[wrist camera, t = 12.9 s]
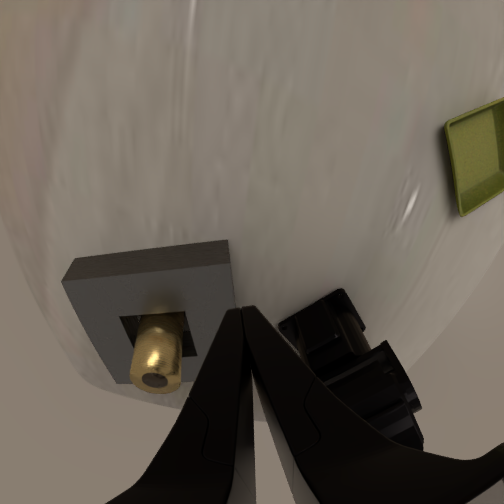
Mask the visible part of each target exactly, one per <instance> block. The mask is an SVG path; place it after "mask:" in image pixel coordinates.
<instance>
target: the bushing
mask: <svg viewBox="0 0 504 504" xmlns="http://www.w3.org/2000/svg"><path fill="white" fill-rule="evenodd" d="M183 326H184V311H179V312H168V313H156V314H144V315H141V319H140V323H139V328H138V333H137V338H136V343H135V348H134V353H133V358H132V364H131V369H130V380H131V381H132V383H133V384H134V385H135V386H136V387H138V388H140V389H142V390H144V391H146V392H150V393H155V394H166V393H171V392H173V391H175V390H177V389H178V388H179V387H180V384H181V363H182V343H183Z"/></svg>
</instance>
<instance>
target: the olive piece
mask: <svg viewBox="0 0 504 504" xmlns="http://www.w3.org/2000/svg"><path fill="white" fill-rule="evenodd" d="M444 130H445V135H446V139H447V144H448V150H449V155H450V161H451V167H452V173H453V180H454V188H455V196H456V203H457V208H458V211H459V215H460V217H463V216H466V215H467V214H469V213H470V212H472V211H474V210H475V209H477V208H478V207H480V206H481V205H483V204H485V203H486V202H488V201H489V200H491V199H492V198H494V197H495V196H497V195H498V194H500V193H502V192H503V191H504V97H503V98H501V99H498V100H496V101H494V102H491V103H489V104H486V105H484V106H482V107H479V108H477V109H474V110H472V111H470V112H467V113H465V114H463V115H460V116H458V117H455V118H453V119H451V120H449V121H447V122H446V123H445V125H444Z"/></svg>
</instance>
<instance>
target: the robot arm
mask: <svg viewBox="0 0 504 504" xmlns="http://www.w3.org/2000/svg"><path fill="white" fill-rule="evenodd" d="M339 294H341V295H339ZM284 326H285V327H284ZM278 328H279V331H280V332H281V333H282V334H283V335H284V336H285V337H286V338H287V339H288V340H289V341H290V342H291V343H292V344H293V345H294V347H295V348H296V349H297V350H298V351H299V354H300V357H301V358H300V357H299V356H298V355H297V353H296V352H295V351H294V350H293V349H292V348H291V347H290V345H289V344H288V343H287V342H286V341H285V340H284V339H283V337H282V336H281V335H280V334H279V333H278V332H277V331H276V329H275V328H274V327H273V326H272V325H271V324H270V322H269V321H268V320H267V319H266V318H265V317H264V316H263V314H262V313H261V312H260V311H259V310H258V309H257V307H256V306H254V305H251V306H245V307H242V308H241V309H240V308H233V309H228V310H227V311H226V312H225V315H224V317H223V319H222V321H221V324H220V326H219V328H218V330H217V332H216V335H215V337H214V339H213V341H212V344H211V346H210V348H209V350H208V353H207V355H206V357H205V359H204V362H203V364H202V366H201V368H200V370H199V373H198V375H197V377H196V379H195V382H194V384H193V386H192V388H191V391H190V393H189V397H187V399H186V402H185V404H184V406H183V408H182V410H181V412H180V414H179V416H178V418H177V420H176V423H175V424H174V426H173V428H172V429H171V431H170V433H169V434H168V436H167V438H166V440H165V441H164V443H163V444H162V446H161V447H160V449H159V450H158V452H157V454H156V455H155V457H154V458H153V460H152V461H151V463H150V465H149V466H148V468H147V469H146V471H145V472H144V474H143V475H142V476H141V478H140V479H139V480H138V481H137V482H136V483H135V484H134V485H133V486H131V487H130V488H129V489H128V490H126V491H124V492H123V493H121V494H120V495H118V496H117V497H115V498H113V499H112V500H110V501H109V502H107V503H106V504H256V487H255V455H254V454H255V452H254V419H253V386H252V375H253V379H254V382H255V385H256V389H257V392H258V395H259V398H260V401H261V404H262V407H263V410H264V413H265V416H266V419H267V422H268V425H269V428H270V432H271V434H272V437H273V440H274V443H275V446H276V449H277V452H278V455H279V458H280V461H281V464H282V467H283V469H284V472H285V475H286V478H287V481H288V484H289V486H290V489H291V492H292V494H293V498H294V500H295V503H296V504H504V443H501V444H500V445H498V446H497V447H495V448H494V449H492V450H491V451H489V452H488V453H486V454H485V455H483V456H482V457H480V458H476V459H472V460H459V459H454V458H449V457H444V456H440V455H436V454H432V453H428V452H424V451H423V443H424V438H423V435H422V433H421V431H420V428H419V426H418V424H417V421H416V419H415V417H414V415H413V413H416V412H418V411H419V410H421V409H422V406H421V404H420V401H419V399H418V396H417V394H416V392H415V390H414V387H413V386H412V383H411V381H410V380H409V378H408V376H407V374H406V372H405V370H404V368H403V367H402V365H401V363H400V362H399V360H398V358H397V357H396V355H395V353H394V352H393V350H392V348H391V347H390V345H389V343H388V342H387V340H385V341H383V342H382V343H380V345H379V346H377V347H375V348H373V349H372V350H371V348H370V346H369V344H368V342H367V340H366V338H365V336H364V334H363V331H364V330H365V329H366V327H365V325H364V323H363V321H362V320H361V318H360V316H359V314H358V313H357V311H356V309H355V307H354V306H353V304H352V302H351V300H350V299H349V297H348V295H347V293H346V292H345V290H344V289H342V288H340V289H337V290H335V291H334V292H332V293H330V294H329V295H327V296H325V297H324V298H322V299H320V300H319V301H317V302H315V303H313V304H312V305H310V306H308V307H307V308H305V309H303V310H301V311H300V312H298V313H296V314H294V315H293V316H291V317H289V318H287V319H285V320H284V321H282V322H280V323H279V324H278ZM251 370H252V372H251Z"/></svg>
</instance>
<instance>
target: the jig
mask: <svg viewBox="0 0 504 504" xmlns="http://www.w3.org/2000/svg"><path fill="white" fill-rule="evenodd" d="M61 283H62V285H63V287H64V289H65V291H66V293H67V296H68V298H69V300H70V302H71V304H72V306H73V308H74V310H75V312H76V314H77V316H78V318H79V320H80V322H81V324H82V326H83V327H84V329H85V331H86V333H87V335H88V337H89V338H90V340H91V342H92V344H93V346H94V347H95V349H96V351H97V352H98V354H99V356H100V358H101V359H102V361H103V363H104V364H105V366H106V367H107V369H108V371H109V372H110V374H111V375H112V377H113V379H114V380H115V382H116V383H117V384H133V383H132V381H131V380H130V369H131V364H132V358H133V353H134V348H135V343H136V338H137V333H138V328H139V322H138V319H137V317H136V315H144V314H156V313H168V312H179V311H185V313H186V317H187V320H188V324H189V328H190V331H183V343H182V363H181V382H190V381H195V379H196V377H197V375H198V373H199V370H200V368H201V366H202V364H203V362H204V359H205V357H206V355H207V353H208V350H209V348H210V346H211V344H212V341H213V339H214V337H215V335H216V332H217V330H218V328H219V326H220V324H221V321H222V319H223V317H224V315H225V312H226V311H227V310H228V309H233V308H236V306H235V298H234V290H233V282H232V273H231V265H230V256H229V248H228V240H220V241H211V242H203V243H194V244H186V245H177V246H169V247H161V248H153V249H144V250H136V251H128V252H120V253H113V254H105V255H97V256H89V257H82V258H75V259H74V261H73V262H72V264H71V266H70V267H69V269H68V271H67V272H66V274H65V276H64V277H63V279H62V281H61Z"/></svg>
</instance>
